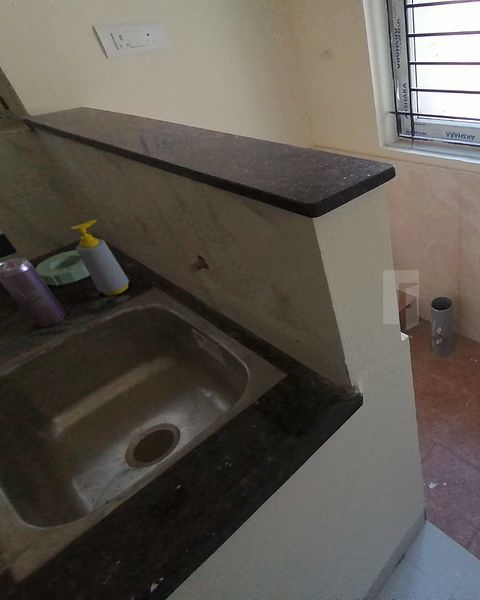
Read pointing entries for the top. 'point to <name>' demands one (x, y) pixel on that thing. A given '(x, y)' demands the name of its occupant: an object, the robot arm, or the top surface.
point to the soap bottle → (100, 262)
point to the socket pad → (62, 268)
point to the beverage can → (30, 292)
